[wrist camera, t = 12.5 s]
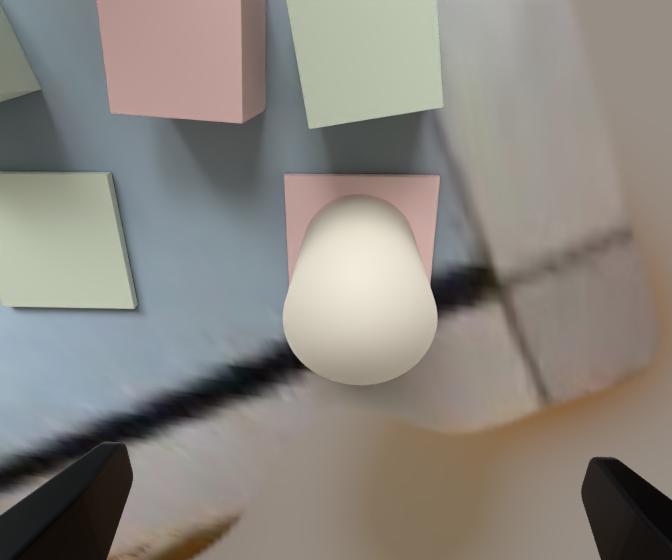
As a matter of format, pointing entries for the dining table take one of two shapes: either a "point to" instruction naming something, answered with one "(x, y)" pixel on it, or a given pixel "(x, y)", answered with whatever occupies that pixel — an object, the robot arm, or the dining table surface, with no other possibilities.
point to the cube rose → (185, 58)
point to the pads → (109, 243)
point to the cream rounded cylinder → (359, 294)
